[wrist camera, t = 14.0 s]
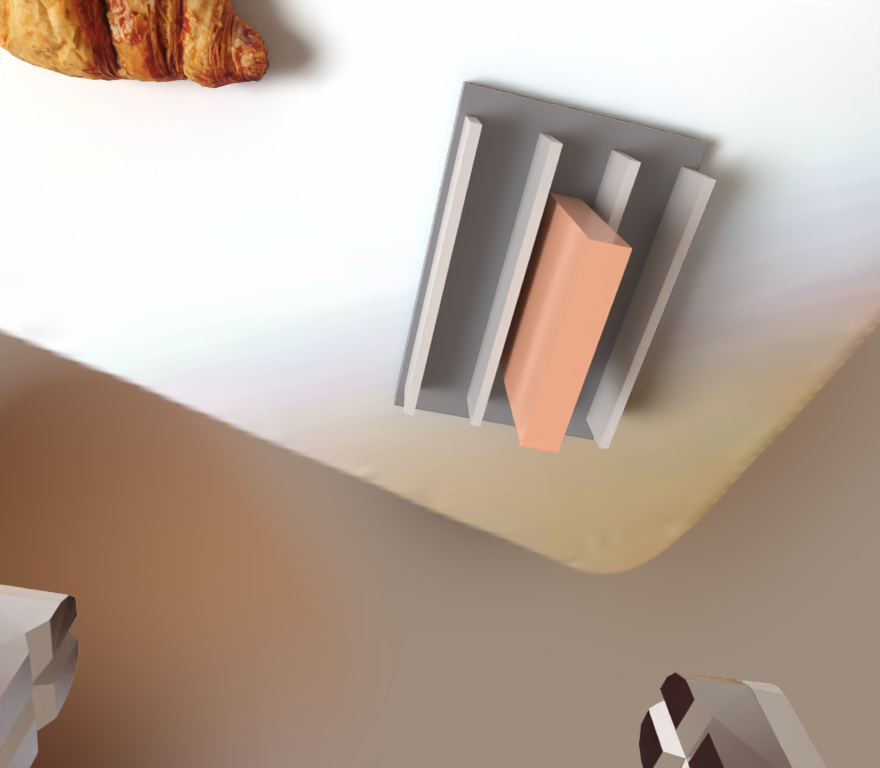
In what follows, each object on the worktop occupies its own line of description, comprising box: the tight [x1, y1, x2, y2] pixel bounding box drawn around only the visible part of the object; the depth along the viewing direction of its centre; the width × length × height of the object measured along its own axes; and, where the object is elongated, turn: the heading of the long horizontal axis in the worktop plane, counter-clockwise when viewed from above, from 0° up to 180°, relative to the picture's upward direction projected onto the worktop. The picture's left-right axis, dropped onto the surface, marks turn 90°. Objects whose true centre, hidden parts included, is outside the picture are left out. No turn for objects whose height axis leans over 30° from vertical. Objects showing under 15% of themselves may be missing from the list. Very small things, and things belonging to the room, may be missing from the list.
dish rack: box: [394, 82, 716, 449], centre depth 39 cm, size 20×14×5 cm
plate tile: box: [499, 192, 632, 453], centre depth 36 cm, size 11×2×10 cm, turn 167°
